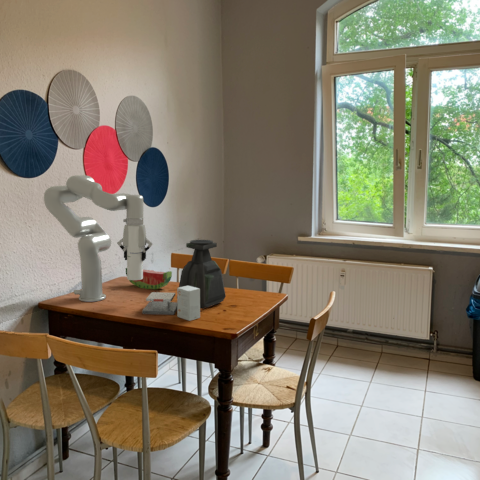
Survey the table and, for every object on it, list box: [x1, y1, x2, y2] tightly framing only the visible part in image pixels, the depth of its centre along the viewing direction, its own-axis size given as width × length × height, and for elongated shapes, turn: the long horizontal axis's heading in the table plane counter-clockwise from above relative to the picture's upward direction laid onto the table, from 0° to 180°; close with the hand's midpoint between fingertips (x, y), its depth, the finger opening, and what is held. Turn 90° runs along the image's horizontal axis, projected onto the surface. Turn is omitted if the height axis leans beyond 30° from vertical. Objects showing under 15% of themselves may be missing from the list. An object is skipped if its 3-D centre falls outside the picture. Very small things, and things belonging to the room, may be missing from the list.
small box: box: [176, 286, 201, 322], centre depth 196 cm, size 8×6×13 cm
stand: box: [141, 291, 177, 316], centre depth 207 cm, size 14×14×6 cm
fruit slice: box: [125, 267, 173, 290], centre depth 245 cm, size 26×6×10 cm, turn 65°
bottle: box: [178, 239, 227, 310], centre depth 215 cm, size 18×16×30 cm
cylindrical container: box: [126, 226, 144, 281], centre depth 211 cm, size 7×7×25 cm
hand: (134, 259), depth 212 cm, fingers closed on cylindrical container, 7 cm apart
